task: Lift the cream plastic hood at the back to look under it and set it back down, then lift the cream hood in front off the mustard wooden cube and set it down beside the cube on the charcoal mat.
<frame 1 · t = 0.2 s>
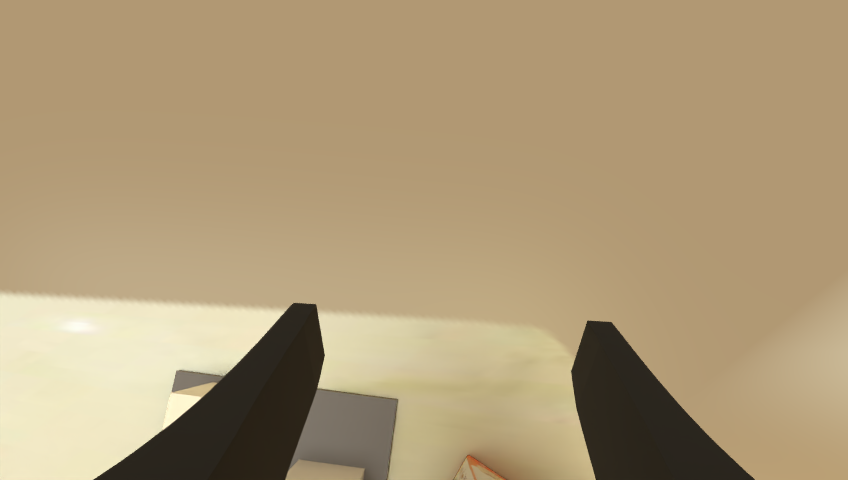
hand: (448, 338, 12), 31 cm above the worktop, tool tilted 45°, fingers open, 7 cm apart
mat: (271, 477, 40), on the worktop
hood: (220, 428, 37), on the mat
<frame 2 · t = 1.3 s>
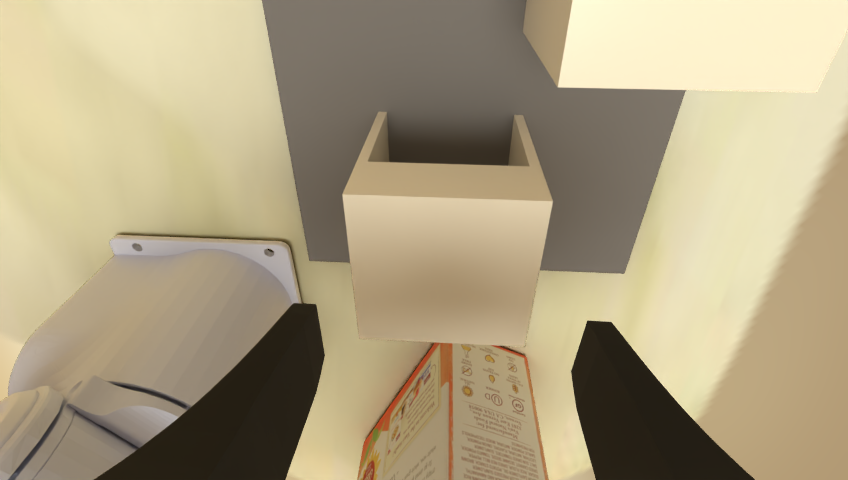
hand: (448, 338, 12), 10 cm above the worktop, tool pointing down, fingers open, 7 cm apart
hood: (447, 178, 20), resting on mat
mat: (478, 51, 17), on the worktop
cracker box: (439, 398, 30), on the worktop
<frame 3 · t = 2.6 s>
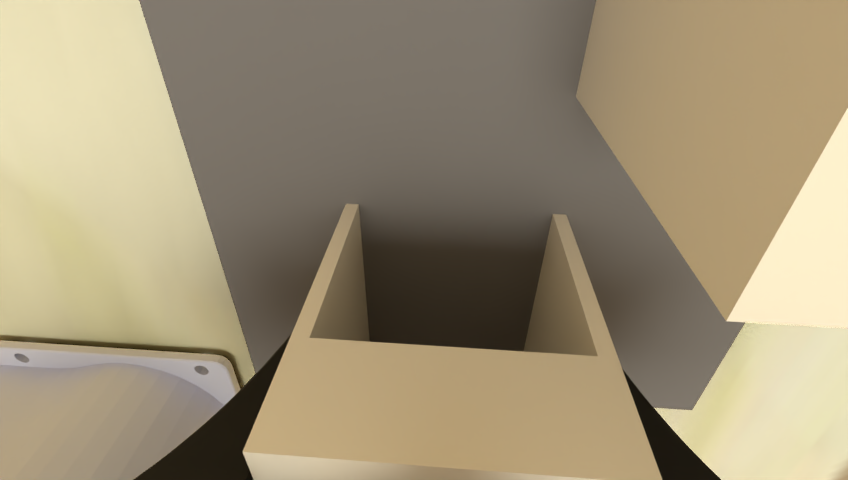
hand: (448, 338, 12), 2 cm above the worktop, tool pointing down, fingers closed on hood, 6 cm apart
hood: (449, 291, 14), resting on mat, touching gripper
mat: (500, 120, 11), on the worktop
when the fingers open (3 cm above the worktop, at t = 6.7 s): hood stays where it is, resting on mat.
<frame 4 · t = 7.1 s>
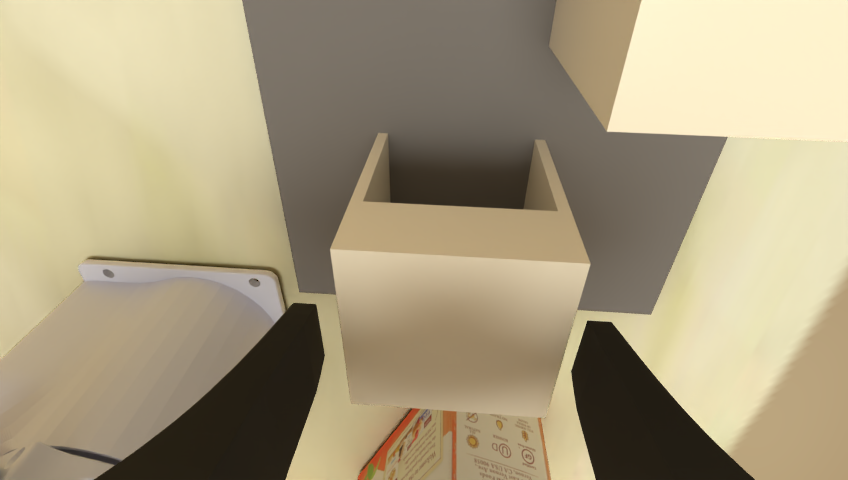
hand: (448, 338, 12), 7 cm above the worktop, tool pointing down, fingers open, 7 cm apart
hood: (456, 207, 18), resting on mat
mat: (495, 66, 15), on the worktop
cracker box: (440, 434, 28), on the worktop
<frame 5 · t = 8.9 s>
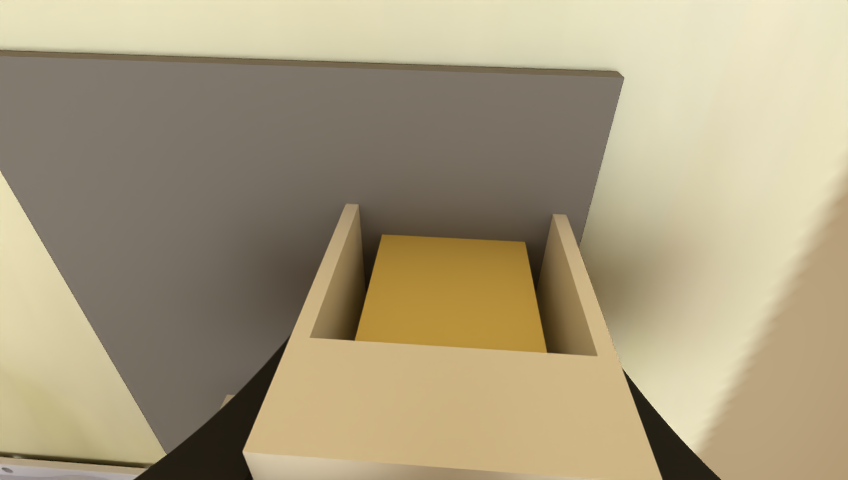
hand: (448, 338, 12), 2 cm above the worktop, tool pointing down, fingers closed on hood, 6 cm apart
mat: (322, 351, 16), on the worktop
cube: (447, 341, 12), in the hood, touching mat
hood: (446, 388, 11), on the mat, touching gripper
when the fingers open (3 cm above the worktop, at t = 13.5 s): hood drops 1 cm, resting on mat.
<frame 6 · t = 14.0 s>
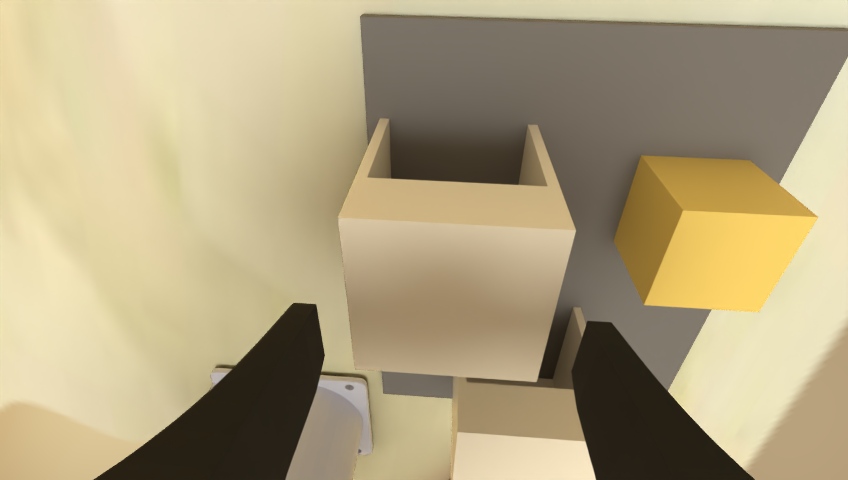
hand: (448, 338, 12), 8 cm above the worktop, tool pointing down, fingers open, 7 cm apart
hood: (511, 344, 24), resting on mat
mat: (546, 262, 21), on the worktop
cube: (697, 231, 16), on the mat
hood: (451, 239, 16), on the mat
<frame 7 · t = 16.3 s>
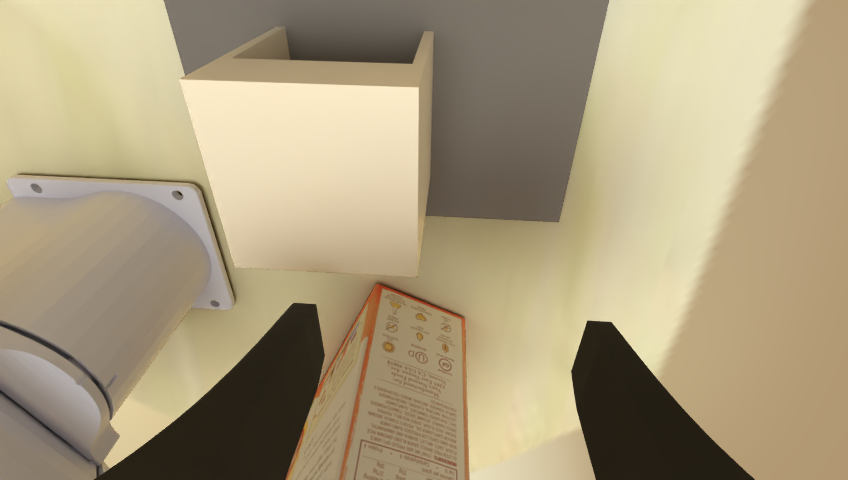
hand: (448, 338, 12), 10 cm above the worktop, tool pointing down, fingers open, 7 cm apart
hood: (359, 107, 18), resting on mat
cracker box: (379, 365, 29), on the worktop
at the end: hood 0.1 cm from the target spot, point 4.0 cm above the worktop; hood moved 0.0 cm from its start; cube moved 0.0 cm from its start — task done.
